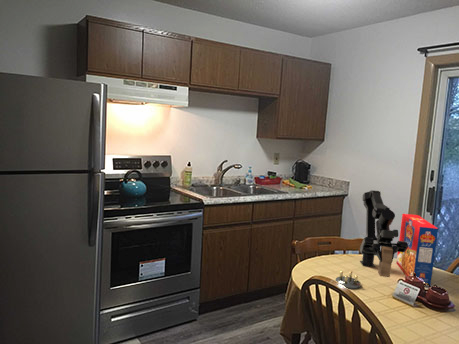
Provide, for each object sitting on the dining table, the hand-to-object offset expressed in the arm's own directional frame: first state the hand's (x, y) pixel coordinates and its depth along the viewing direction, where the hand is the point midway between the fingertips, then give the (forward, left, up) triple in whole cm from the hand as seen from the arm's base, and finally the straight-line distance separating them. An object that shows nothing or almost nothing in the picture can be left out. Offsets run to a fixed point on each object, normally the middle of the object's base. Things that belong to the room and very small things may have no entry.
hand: (386, 261), depth 164 cm
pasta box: (-25, +23, -14) cm, 37 cm away
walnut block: (-1, 0, -7) cm, 7 cm away
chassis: (-4, -14, -13) cm, 20 cm away
